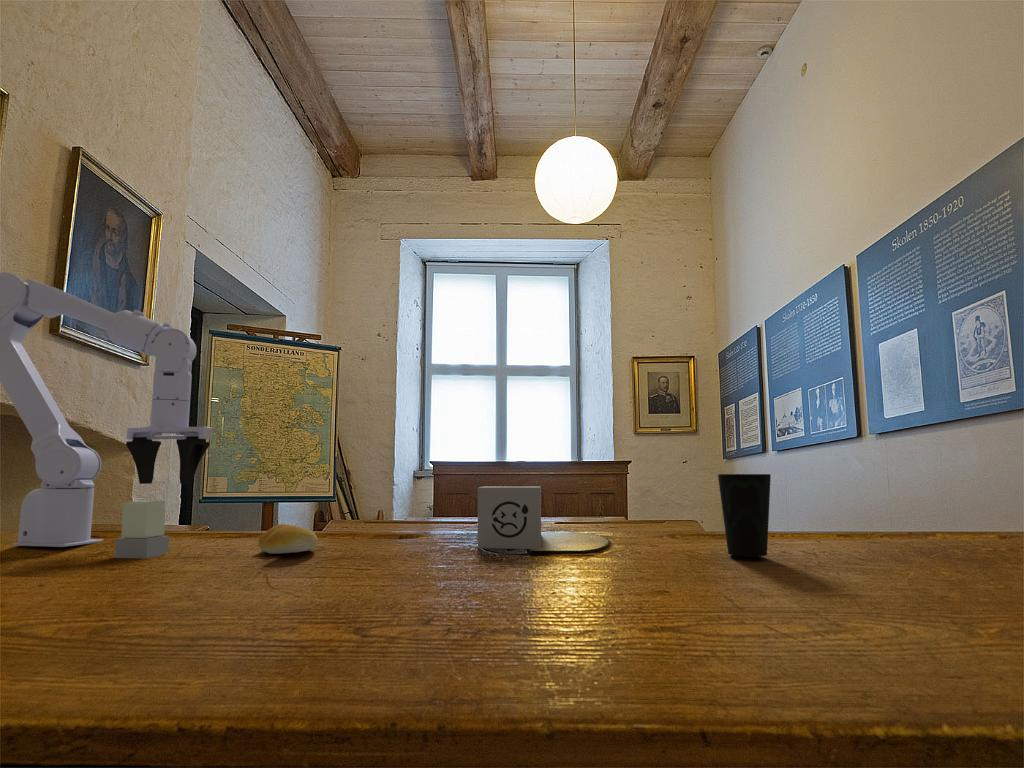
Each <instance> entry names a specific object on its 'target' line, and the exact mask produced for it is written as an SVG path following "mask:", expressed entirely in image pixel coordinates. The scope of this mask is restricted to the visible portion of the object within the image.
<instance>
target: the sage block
mask: <svg viewBox="0 0 1024 768" xmlns="http://www.w3.org/2000/svg"><path fill="white" fill-rule="evenodd" d="M121 506H122V508H121V510H122V511H121V512H122V513H121V534H120V535H121V536H120V538H148V537H153V536H159V535H161V536H165V527H166V526H165V525H166V524H165V522H166V520H165V518H166V500H140V501H129V502H128V501H127V502H122V505H121Z"/></svg>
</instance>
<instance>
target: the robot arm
mask: <svg viewBox="0 0 1024 768" xmlns="http://www.w3.org/2000/svg"><path fill="white" fill-rule="evenodd" d="M62 315H63V316H66V317H68V318H72V319H74V320H77V321H80V322H82V323H85V324H88V325H90V326H94V327H96V328H99V329H102V330H104V331H106V333H107V335H108V338H109V340H110V341H111V342H113V343H114V344H118V345H120V346H123V347H126V348H128V349H131V350H132V351H136V352H138V353H141V354H143V355H146V356H148V357H150V356H151V357H155V363H154V372H153V383H152V396H151V411H150V422H149V425H148V426H144V427H143V426H142V427H141V426H140V427H127V431H126V440H129V441H126V447H127V449H128V450H129V453H130V454H131V457H132V458H133V462H134V464H135V468H136V472H137V476H138V483H139V484H140V485H141V484H143V485H145V484H146V485H148V484H150V485H151V484H152V483H153V480H154V474H155V463H156V460H157V456H158V452H159V450H160V447H161V445H162V441H159V440H176V445H177V448H178V454H179V456H178V457H179V483H180V485H186V484H187V485H192V484H193V482H194V477H195V475H196V472H197V468H198V466H199V465H200V462H201V459H202V458H203V456H204V455H205V453H206V452H207V450H208V449H209V447H210V445H211V444H210V441H206V440H212V431H213V429H212V428H213V427H212V426H211V427H209V426H189V425H190V424H189V423H190V413H191V412H190V411H191V410H190V409H191V407H190V406H191V397H192V396H191V395H192V393H191V392H192V378H193V376H192V368H193V367H192V366H193V365H192V363H193V361H194V360H195V358H196V356H197V344H195V341H194V340H193V338H191V337H190V336H189V335H188V334H187V333H185V332H183V330H181V329H178V328H173V327H172V324H170V323H167V322H164V323H163V324H162V323H160V322H158V321H155V320H153V319H150V318H148V317H145V313H144V312H143V311H140V310H138V309H133V311H130V310H127V309H125V310H121V311H117V312H112V311H109V310H107V309H105V308H104V307H100V306H98V305H96V304H94V303H92V302H89V301H87V300H84V299H83V298H80V297H77V296H75V295H74V294H71V293H68V292H66V291H65V290H62V289H59V288H57V287H54V286H51V285H48V284H45V283H42V282H39V281H38V280H33V279H31V278H23V279H21V278H20V277H19V276H17V275H16V274H13V273H9V272H0V384H1V386H2V388H3V389H4V391H5V393H6V394H7V397H8V398H9V399H10V401H11V403H12V405H13V407H14V408H15V410H16V412H17V414H18V415H19V417H20V419H21V420H22V422H23V424H24V426H25V427H26V429H27V431H28V432H29V434H30V436H31V438H32V441H31V445H30V446H31V447H30V450H31V452H32V453H33V455H34V458H35V459H34V460H35V471H36V475H37V476H38V478H39V479H40V480H41V481H42V482H41V483H40V488H36V489H33V490H31V491H30V492H28V493H27V494H26V495H25V496H24V499H22V503H21V507H20V515H19V516H20V517H19V526H18V527H19V528H18V538H17V542H12V546H14V547H18V546H19V547H21V546H22V547H49V548H50V547H54V548H64V547H74V546H80V545H81V546H83V545H89V544H96V543H100V542H103V541H104V539H103V538H92V537H91V535H92V521H93V511H94V498H95V486H96V485H95V483H94V479H96V478H97V477H98V476H99V473H100V472H101V469H102V459H101V457H100V455H99V454H98V452H97V451H96V450H95V449H93V448H92V447H89V446H88V445H87V444H86V443H85V441H84V440H83V438H82V437H81V436H80V435H79V434H78V433H77V432H76V431H75V430H74V429H73V428H72V427H71V426H70V425H69V423H68V421H67V420H66V418H65V416H64V415H63V413H62V411H61V409H60V408H59V406H58V404H57V403H56V401H55V399H54V397H53V396H52V394H51V392H50V391H49V388H48V387H47V386H46V383H45V382H44V380H43V378H42V377H41V375H40V373H39V372H38V370H37V368H36V366H35V364H34V363H33V362H32V360H31V358H30V356H29V355H28V353H27V351H26V350H25V347H24V346H23V342H24V340H25V338H26V336H27V335H28V334H29V332H31V331H32V330H33V329H34V328H35V327H36V326H37V325H38V324H39V323H40V322H41V321H42V320H43V319H44V318H49V319H54V318H56V317H59V316H62ZM163 434H165V435H163ZM166 434H167V435H166ZM168 434H169V435H168ZM170 434H173V435H170ZM174 434H175V435H174Z"/></svg>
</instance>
